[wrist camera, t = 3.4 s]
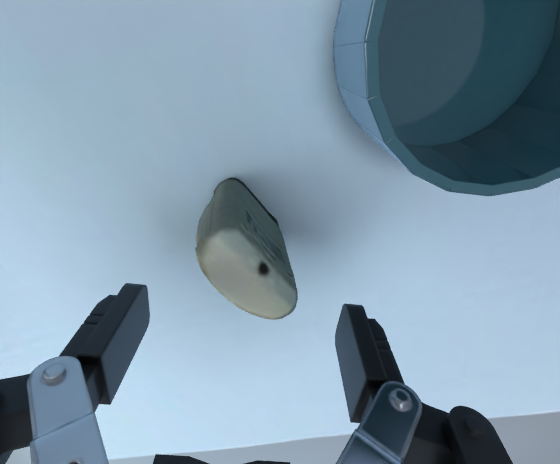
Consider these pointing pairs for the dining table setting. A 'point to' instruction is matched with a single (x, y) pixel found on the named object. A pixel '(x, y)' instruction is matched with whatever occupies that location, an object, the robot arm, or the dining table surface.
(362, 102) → the teal open cylinder
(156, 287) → the dining table surface
